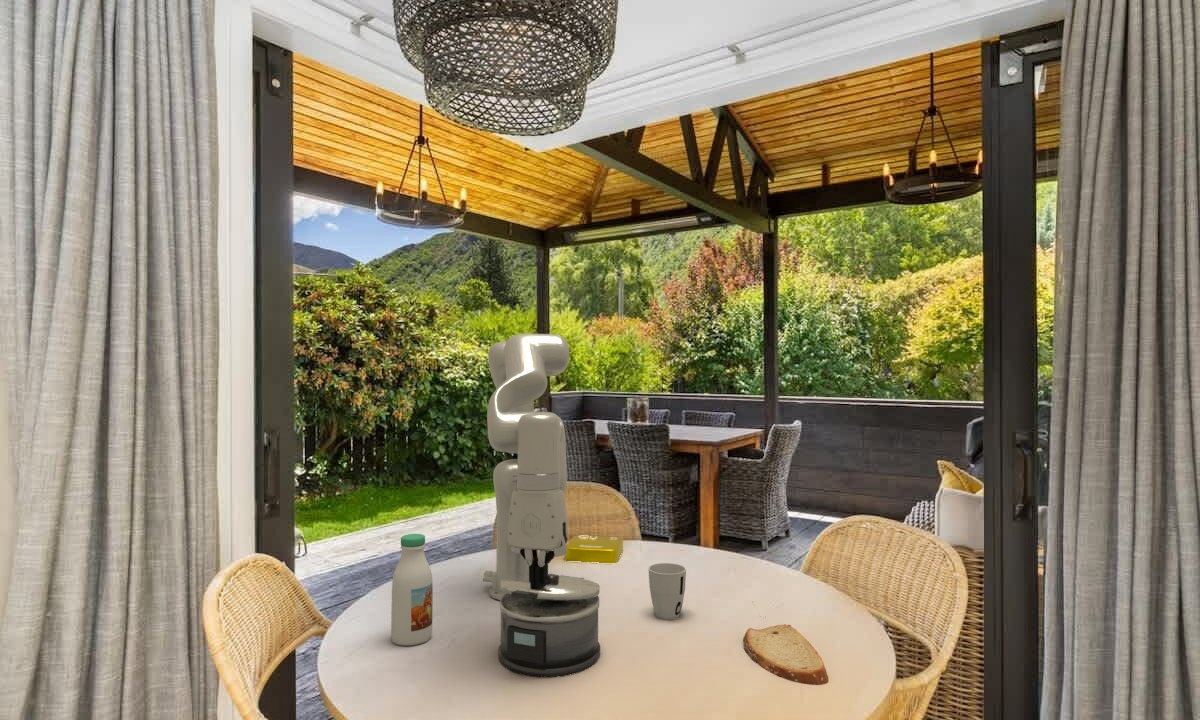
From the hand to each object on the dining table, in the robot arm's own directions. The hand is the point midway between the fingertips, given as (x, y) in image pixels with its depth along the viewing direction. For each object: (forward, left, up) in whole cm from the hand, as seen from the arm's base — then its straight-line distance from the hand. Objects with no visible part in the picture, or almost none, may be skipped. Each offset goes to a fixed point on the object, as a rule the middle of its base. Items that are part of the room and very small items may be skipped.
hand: (538, 587), depth 113 cm
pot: (-1, +7, -14) cm, 16 cm away
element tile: (-18, +70, -15) cm, 73 cm away
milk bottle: (-29, +2, -14) cm, 32 cm away
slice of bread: (+40, +21, -15) cm, 48 cm away
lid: (-1, +5, -2) cm, 6 cm away
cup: (+14, +33, -14) cm, 39 cm away
